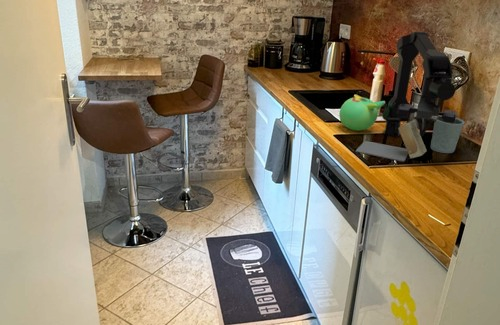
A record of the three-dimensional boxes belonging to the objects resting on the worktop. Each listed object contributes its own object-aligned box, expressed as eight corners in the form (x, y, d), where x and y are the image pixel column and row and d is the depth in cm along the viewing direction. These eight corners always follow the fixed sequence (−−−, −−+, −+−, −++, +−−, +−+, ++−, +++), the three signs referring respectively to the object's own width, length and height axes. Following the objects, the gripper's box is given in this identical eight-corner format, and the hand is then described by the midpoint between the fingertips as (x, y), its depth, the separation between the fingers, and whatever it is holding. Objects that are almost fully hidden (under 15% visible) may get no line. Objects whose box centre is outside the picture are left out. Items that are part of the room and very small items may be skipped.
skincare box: (415, 154, 151) (403, 123, 151) (427, 151, 148) (415, 120, 148) (409, 159, 146) (397, 127, 146) (421, 156, 143) (408, 123, 143)
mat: (364, 141, 162) (364, 140, 162) (410, 150, 155) (410, 149, 154) (355, 151, 152) (355, 150, 152) (404, 161, 144) (404, 160, 144)
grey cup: (433, 142, 163) (439, 114, 159) (460, 149, 157) (467, 119, 153) (425, 149, 156) (431, 119, 151) (453, 156, 150) (460, 125, 145)
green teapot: (344, 120, 188) (348, 89, 182) (381, 127, 181) (387, 94, 175) (332, 131, 173) (336, 97, 168) (372, 138, 166) (377, 103, 160)
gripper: (397, 93, 136) (390, 137, 142) (458, 101, 128) (448, 148, 134) (403, 87, 145) (396, 129, 151) (461, 94, 137) (451, 138, 143)
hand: (421, 136), depth 145 cm, fingers closed
